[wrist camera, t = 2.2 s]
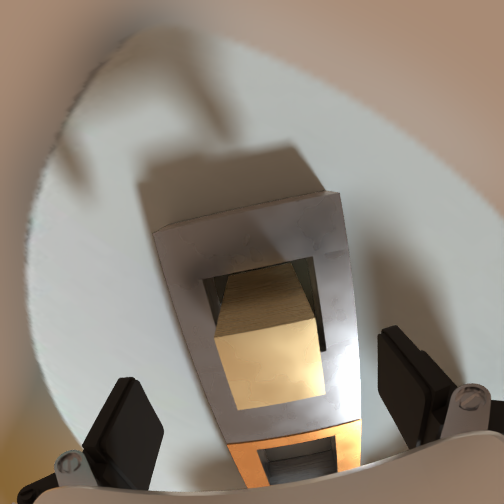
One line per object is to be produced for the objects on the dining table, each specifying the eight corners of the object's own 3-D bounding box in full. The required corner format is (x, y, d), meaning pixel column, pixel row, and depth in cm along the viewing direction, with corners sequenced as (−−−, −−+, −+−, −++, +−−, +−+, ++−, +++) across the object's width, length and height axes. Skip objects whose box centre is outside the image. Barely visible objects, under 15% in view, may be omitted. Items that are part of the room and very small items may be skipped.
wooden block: (290, 262, 19) (315, 318, 11) (301, 318, 20) (325, 393, 12) (228, 275, 19) (213, 337, 12) (242, 330, 20) (237, 410, 12)
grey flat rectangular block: (326, 190, 18) (340, 192, 15) (352, 460, 24) (359, 483, 21) (167, 225, 19) (152, 233, 16) (254, 479, 24) (254, 502, 21)
